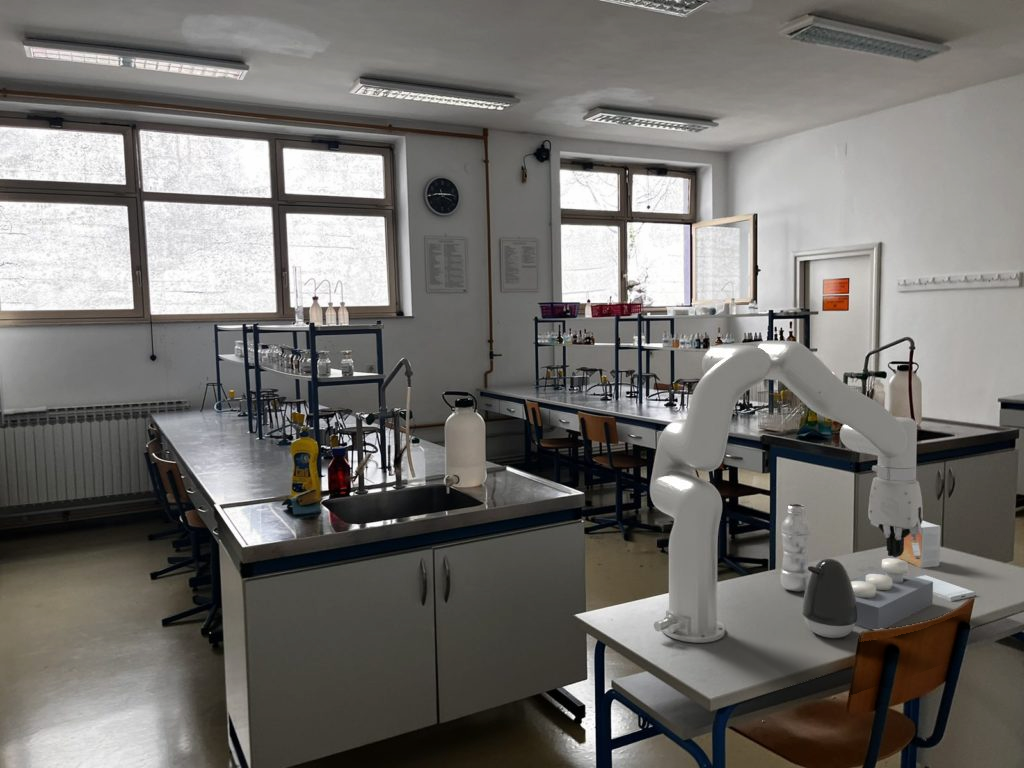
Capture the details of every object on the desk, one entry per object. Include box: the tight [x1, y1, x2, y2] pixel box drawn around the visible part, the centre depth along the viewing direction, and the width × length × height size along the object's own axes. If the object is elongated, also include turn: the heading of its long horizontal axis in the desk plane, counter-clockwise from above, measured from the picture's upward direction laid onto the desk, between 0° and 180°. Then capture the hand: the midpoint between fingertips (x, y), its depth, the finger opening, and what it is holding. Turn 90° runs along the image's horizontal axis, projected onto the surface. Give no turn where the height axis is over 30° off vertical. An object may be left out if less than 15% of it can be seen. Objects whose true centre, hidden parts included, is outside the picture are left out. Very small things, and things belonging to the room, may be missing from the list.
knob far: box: [881, 557, 909, 584], centre depth 168 cm, size 5×5×6 cm
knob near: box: [851, 581, 876, 599], centre depth 159 cm, size 5×5×6 cm
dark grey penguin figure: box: [801, 558, 857, 639], centre depth 151 cm, size 10×10×15 cm
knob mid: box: [866, 574, 892, 592], centre depth 164 cm, size 5×5×6 cm
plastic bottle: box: [779, 503, 812, 592], centre depth 175 cm, size 6×7×20 cm
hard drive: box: [915, 574, 977, 602], centre depth 175 cm, size 2×8×12 cm
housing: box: [850, 567, 934, 630], centre depth 164 cm, size 24×12×5 cm, turn 128°
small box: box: [898, 519, 942, 569], centre depth 194 cm, size 8×6×10 cm
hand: (895, 555), depth 167 cm, fingers closed
